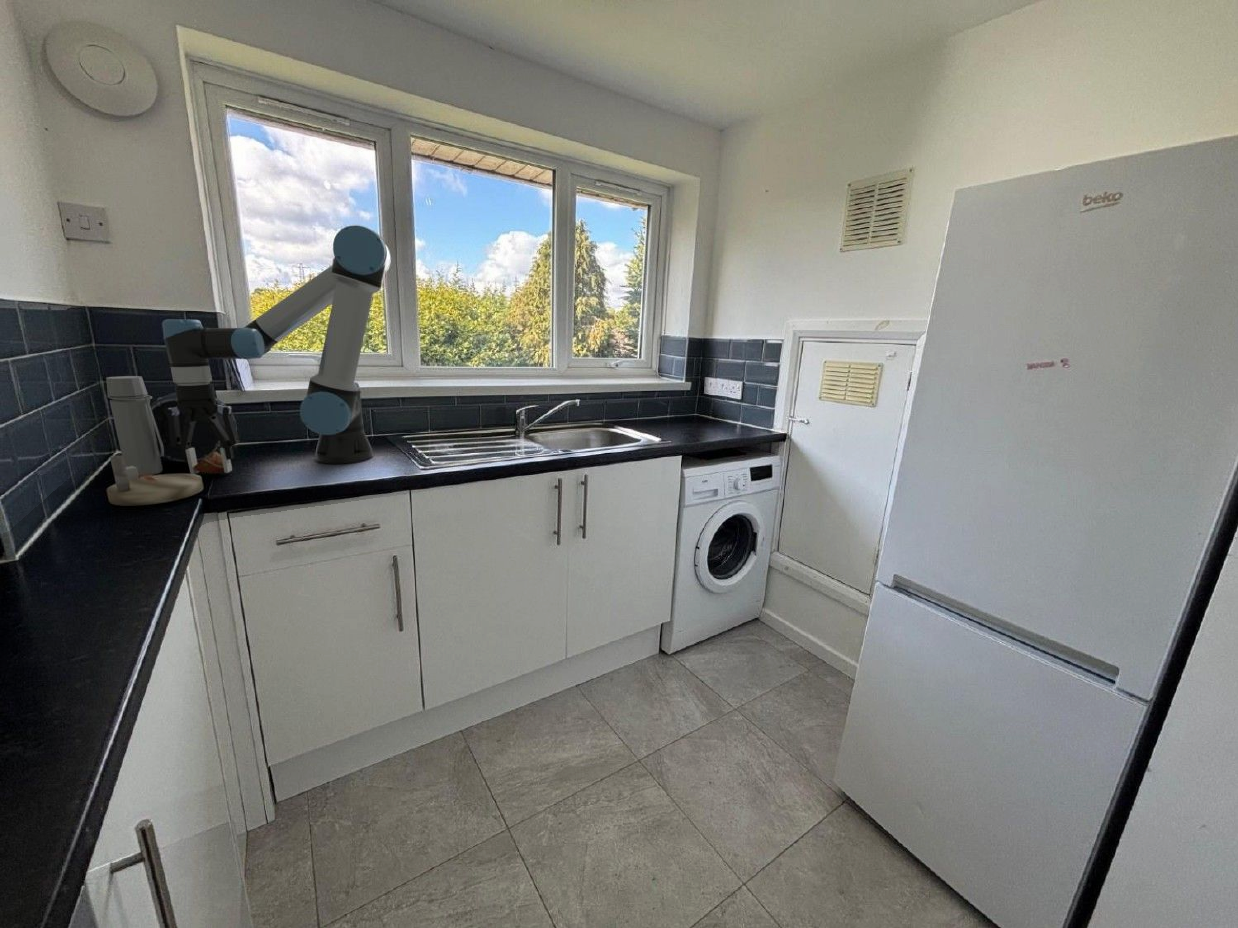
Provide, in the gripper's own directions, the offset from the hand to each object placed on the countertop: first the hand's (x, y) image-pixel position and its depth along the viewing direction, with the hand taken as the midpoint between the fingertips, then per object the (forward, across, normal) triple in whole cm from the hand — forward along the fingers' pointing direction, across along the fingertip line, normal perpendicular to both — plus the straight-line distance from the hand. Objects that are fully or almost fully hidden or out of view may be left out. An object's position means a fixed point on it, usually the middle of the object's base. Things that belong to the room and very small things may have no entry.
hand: (211, 472), depth 133 cm
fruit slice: (0, 0, 0) cm, 0 cm away
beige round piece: (0, +4, +17) cm, 18 cm away
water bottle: (+1, +15, -4) cm, 16 cm away
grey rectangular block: (+1, +13, +8) cm, 16 cm away
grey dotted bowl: (+1, +9, -16) cm, 19 cm away
